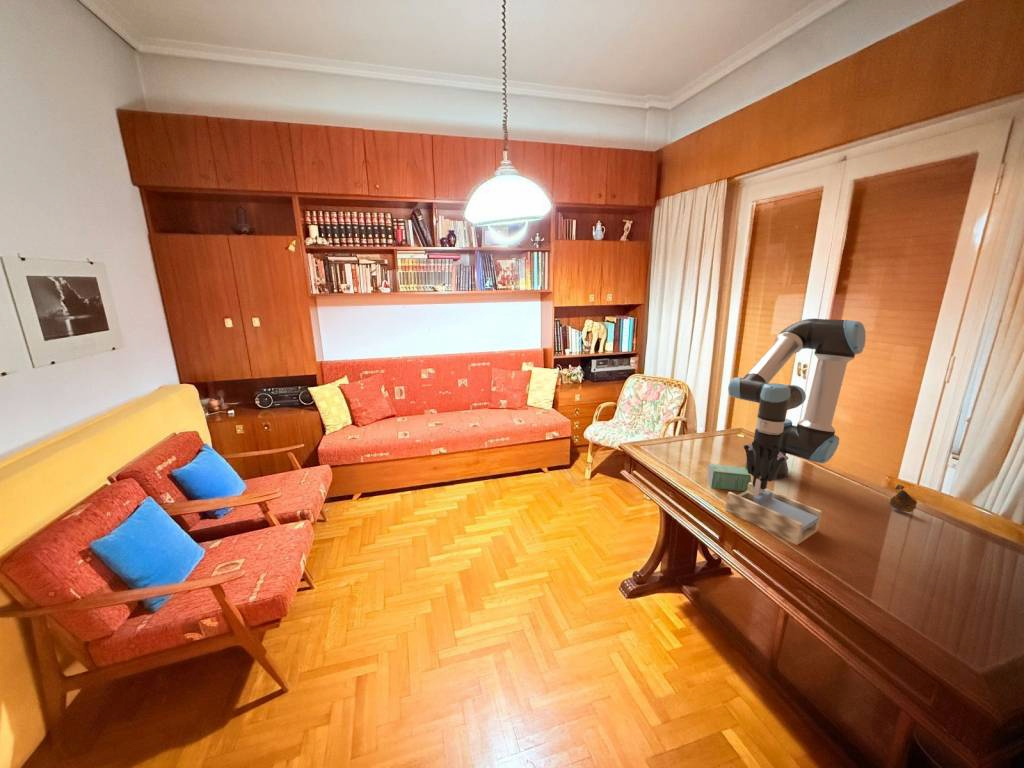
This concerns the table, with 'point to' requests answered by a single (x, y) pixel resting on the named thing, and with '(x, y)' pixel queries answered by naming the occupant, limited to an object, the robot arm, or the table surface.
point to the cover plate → (786, 509)
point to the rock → (903, 500)
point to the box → (728, 477)
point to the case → (771, 515)
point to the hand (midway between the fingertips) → (757, 496)
